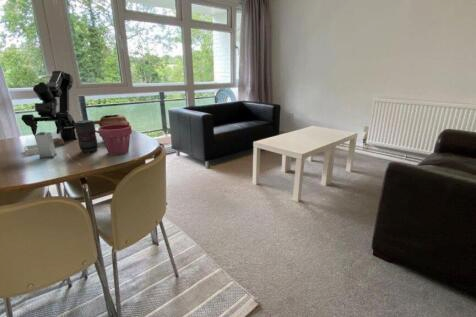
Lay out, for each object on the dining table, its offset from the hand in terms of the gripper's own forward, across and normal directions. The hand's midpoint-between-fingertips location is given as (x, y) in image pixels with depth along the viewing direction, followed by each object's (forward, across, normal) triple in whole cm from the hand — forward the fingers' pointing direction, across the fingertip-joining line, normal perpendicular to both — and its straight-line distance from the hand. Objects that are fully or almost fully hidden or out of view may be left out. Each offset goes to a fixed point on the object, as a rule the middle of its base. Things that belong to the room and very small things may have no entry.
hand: (45, 134), depth 120 cm
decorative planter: (-8, +24, +23) cm, 34 cm away
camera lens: (+6, +16, +8) cm, 19 cm away
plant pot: (+10, +30, +4) cm, 32 cm away
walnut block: (-5, -3, +20) cm, 21 cm away
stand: (+1, -8, +13) cm, 15 cm away
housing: (+9, 0, +5) cm, 10 cm away
